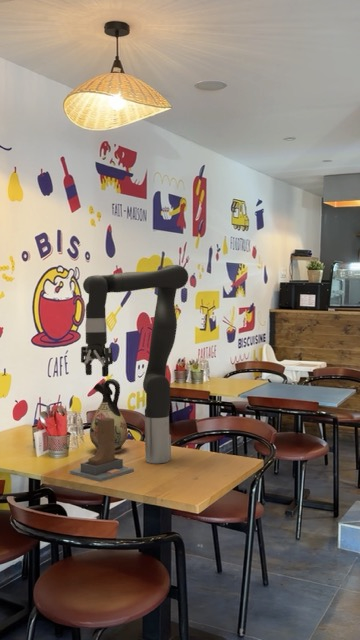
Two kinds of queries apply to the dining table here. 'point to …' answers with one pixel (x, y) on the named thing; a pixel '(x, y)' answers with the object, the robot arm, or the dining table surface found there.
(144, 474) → the dining table surface
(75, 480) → the dining table surface
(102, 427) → the wooden block
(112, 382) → the ceramic jug
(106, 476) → the pocket plate
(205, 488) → the dining table surface
